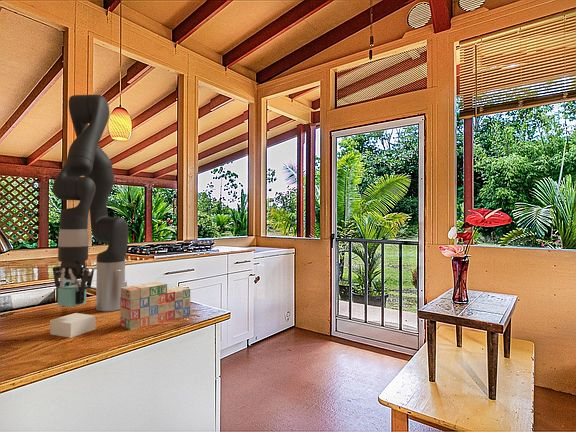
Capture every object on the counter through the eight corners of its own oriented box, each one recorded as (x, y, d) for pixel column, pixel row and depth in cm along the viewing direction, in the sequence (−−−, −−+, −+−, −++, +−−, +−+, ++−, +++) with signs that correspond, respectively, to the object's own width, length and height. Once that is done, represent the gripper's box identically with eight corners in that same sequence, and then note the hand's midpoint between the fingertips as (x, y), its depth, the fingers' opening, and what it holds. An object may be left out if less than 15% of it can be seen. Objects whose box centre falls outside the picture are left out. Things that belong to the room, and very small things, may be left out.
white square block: (75, 325, 107) (75, 312, 107) (95, 329, 104) (95, 315, 104) (50, 334, 99) (50, 320, 99) (70, 337, 97) (70, 323, 97)
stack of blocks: (180, 311, 124) (180, 277, 124) (190, 315, 120) (191, 279, 120) (119, 326, 108) (120, 286, 107) (129, 330, 104) (130, 289, 103)
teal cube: (73, 301, 105) (74, 284, 105) (86, 303, 103) (86, 286, 103) (57, 305, 100) (58, 287, 100) (70, 307, 98) (70, 289, 98)
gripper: (103, 244, 103) (101, 302, 103) (67, 242, 107) (66, 297, 107) (80, 246, 96) (78, 308, 95) (43, 244, 100) (42, 303, 100)
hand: (72, 302), depth 101 cm, fingers closed on teal cube, 5 cm apart
